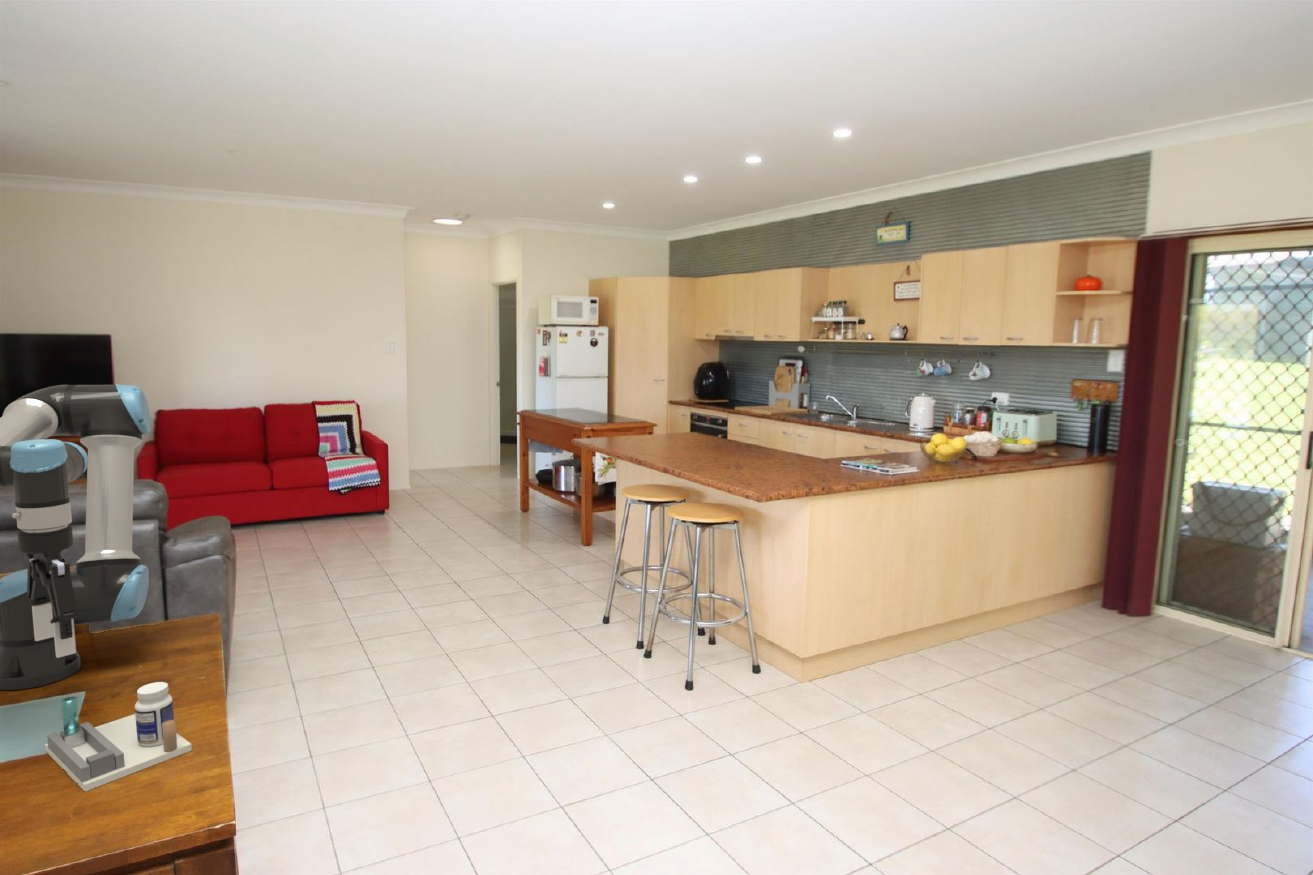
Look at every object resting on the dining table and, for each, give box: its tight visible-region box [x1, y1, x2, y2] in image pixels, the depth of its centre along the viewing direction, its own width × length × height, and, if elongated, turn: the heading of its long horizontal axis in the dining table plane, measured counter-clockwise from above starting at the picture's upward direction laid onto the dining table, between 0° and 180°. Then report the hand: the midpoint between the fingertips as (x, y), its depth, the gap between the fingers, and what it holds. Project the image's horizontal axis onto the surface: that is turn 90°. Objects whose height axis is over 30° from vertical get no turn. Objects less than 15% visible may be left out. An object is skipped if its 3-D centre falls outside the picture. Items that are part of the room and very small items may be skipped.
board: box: [44, 713, 193, 792], centre depth 134 cm, size 20×16×6 cm
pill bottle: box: [134, 681, 175, 747], centre depth 136 cm, size 6×6×10 cm
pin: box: [58, 696, 85, 748], centre depth 134 cm, size 3×3×8 cm
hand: (55, 646), depth 136 cm, fingers open, 11 cm apart
